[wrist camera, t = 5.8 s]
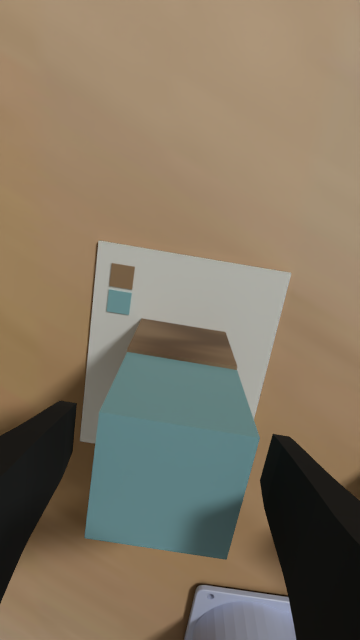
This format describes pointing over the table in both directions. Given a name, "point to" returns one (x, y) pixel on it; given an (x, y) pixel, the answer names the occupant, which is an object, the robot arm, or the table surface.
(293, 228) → the table surface
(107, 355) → the baseplate
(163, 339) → the brick walnut
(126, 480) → the brick teal
